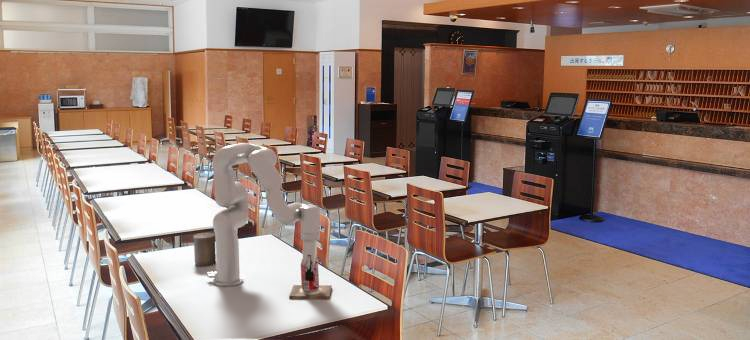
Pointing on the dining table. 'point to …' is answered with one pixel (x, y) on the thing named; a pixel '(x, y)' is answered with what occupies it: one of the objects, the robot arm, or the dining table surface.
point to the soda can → (310, 285)
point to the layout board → (319, 294)
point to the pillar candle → (204, 249)
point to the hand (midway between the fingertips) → (310, 276)
